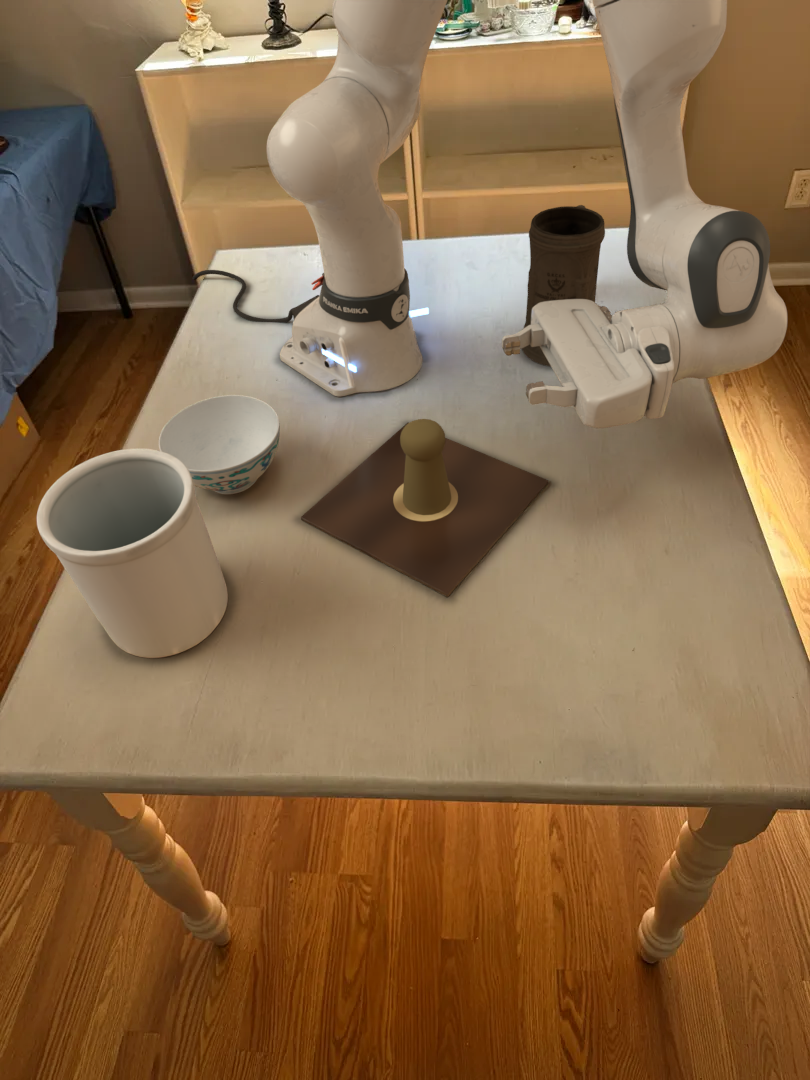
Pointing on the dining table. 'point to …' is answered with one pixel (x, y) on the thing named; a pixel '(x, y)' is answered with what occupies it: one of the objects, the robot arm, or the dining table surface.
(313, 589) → the dining table surface
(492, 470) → the mat
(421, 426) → the olive brown pawn
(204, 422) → the chinaware
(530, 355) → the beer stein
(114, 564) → the utensil holder
